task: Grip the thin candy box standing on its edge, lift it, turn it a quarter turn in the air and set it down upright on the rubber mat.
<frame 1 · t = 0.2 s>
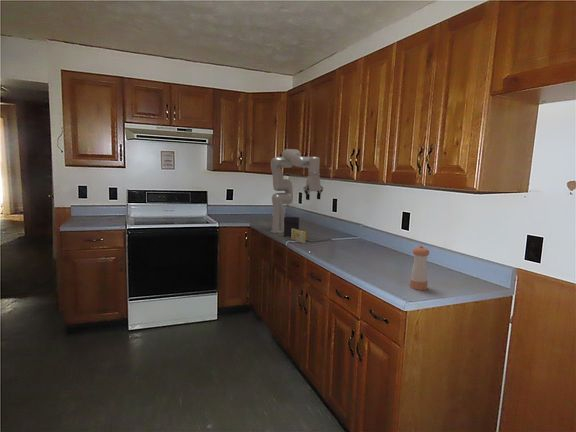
hand: (313, 199, 256), 30 cm above the worktop, tool pointing down, fingers open, 9 cm apart
candy box: (298, 241, 261), on the worktop
calculator: (291, 236, 278), on the worktop
pepper shaker: (418, 287, 165), on the worktop
mat: (316, 239, 268), on the worktop
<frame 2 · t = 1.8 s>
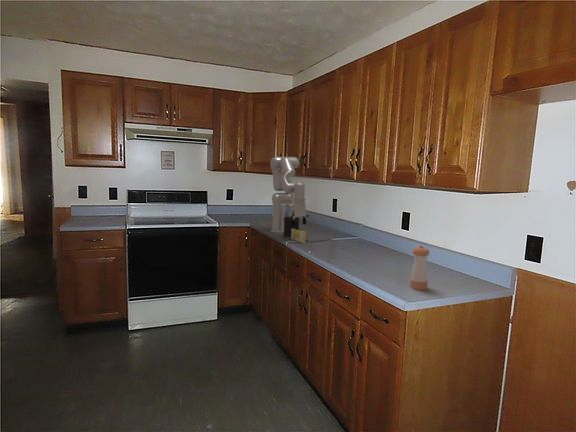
hand: (298, 224, 259), 12 cm above the worktop, tool pointing down, fingers open, 9 cm apart
nothing on the worktop moved.
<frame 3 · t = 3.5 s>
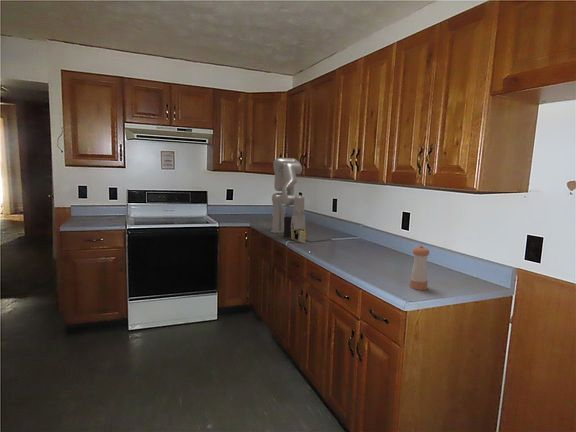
hand: (298, 238, 261), 2 cm above the worktop, tool pointing down, fingers closed on candy box, 2 cm apart
candy box: (298, 241, 261), on the worktop, touching gripper
everything else where it was.
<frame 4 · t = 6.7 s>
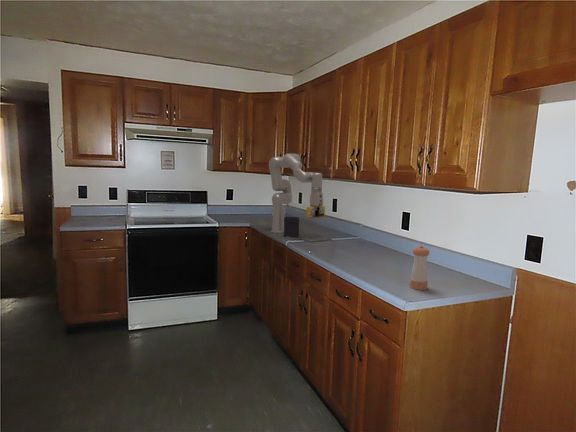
hand: (315, 215, 265), 18 cm above the worktop, tool pointing down, fingers closed on candy box
candy box: (315, 218, 265), point 16 cm above the worktop, touching gripper
everything else where it was.
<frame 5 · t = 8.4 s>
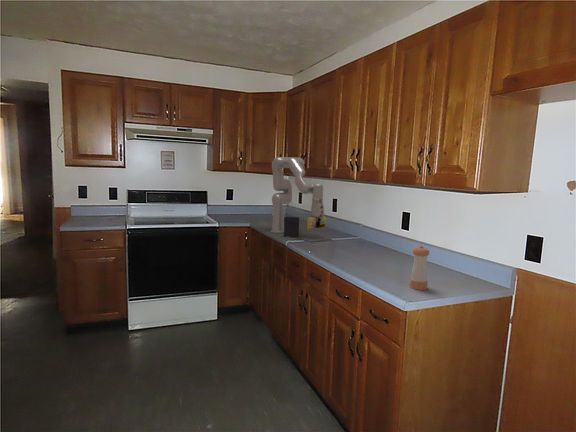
hand: (316, 226, 266), 10 cm above the worktop, tool pointing down, fingers closed on candy box
candy box: (316, 228, 266), point 8 cm above the worktop, touching gripper
everything else where it was.
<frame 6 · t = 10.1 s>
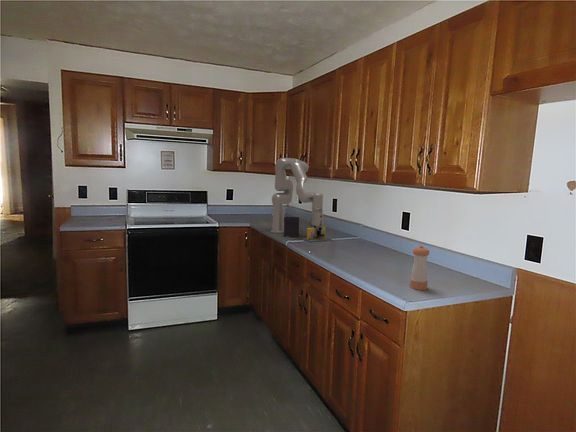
hand: (316, 234, 267), 4 cm above the worktop, tool pointing down, fingers open, 4 cm apart
candy box: (316, 238, 268), point 1 cm above the worktop, touching mat
everything else where it was.
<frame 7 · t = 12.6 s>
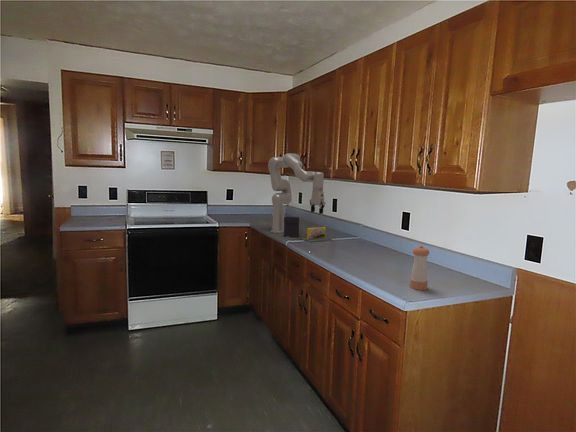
hand: (316, 212, 267), 20 cm above the worktop, tool pointing down, fingers open, 9 cm apart
nothing on the worktop moved.
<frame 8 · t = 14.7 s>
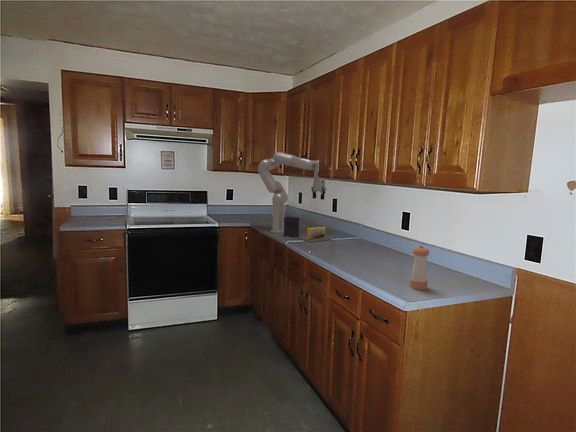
hand: (318, 198, 283), 28 cm above the worktop, tool pointing down, fingers open, 9 cm apart
nothing on the worktop moved.
at the end: candy box inside the target area on the mat (0.1 cm from its centre), point 0.6 cm above the mat's base; candy box tilted 0°; the gripper is holding nothing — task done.
